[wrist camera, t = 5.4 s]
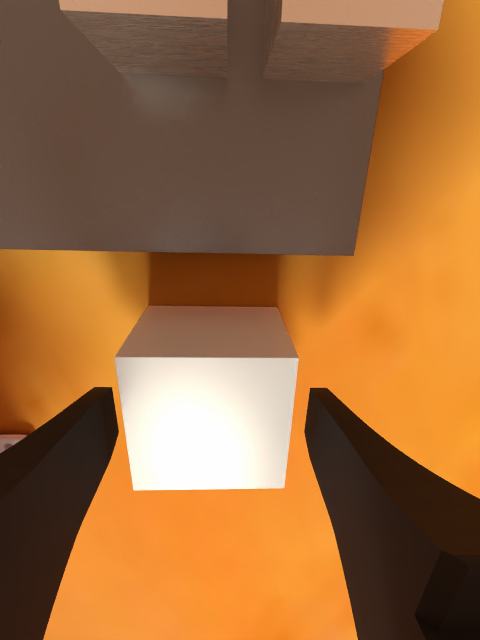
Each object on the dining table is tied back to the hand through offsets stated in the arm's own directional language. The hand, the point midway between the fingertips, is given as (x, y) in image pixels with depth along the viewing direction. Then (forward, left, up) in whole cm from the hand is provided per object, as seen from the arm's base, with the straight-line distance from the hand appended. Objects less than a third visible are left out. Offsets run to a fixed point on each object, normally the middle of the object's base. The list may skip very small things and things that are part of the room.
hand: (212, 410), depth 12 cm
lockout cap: (0, 0, -4) cm, 4 cm away
